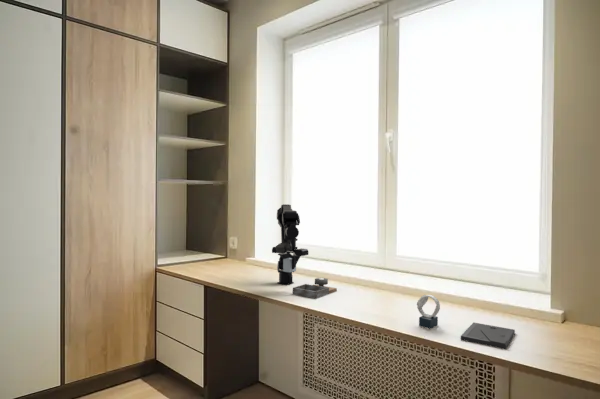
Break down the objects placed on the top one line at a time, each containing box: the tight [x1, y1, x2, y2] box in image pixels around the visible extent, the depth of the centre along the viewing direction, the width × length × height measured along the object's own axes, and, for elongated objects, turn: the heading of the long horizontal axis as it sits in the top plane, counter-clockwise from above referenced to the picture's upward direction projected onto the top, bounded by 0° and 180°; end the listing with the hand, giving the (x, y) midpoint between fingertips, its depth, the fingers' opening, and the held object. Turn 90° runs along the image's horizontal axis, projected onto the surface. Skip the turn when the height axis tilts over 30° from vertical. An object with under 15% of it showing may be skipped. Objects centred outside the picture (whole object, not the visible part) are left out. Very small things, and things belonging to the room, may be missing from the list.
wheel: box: [314, 277, 329, 286], centre depth 198 cm, size 6×6×2 cm
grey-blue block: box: [283, 258, 297, 273], centre depth 196 cm, size 4×5×6 cm
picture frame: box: [460, 322, 516, 350], centre depth 135 cm, size 13×2×18 cm
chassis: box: [292, 283, 338, 299], centre depth 194 cm, size 14×18×3 cm
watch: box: [416, 294, 441, 329], centre depth 146 cm, size 6×8×11 cm
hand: (289, 268), depth 196 cm, fingers closed on grey-blue block, 4 cm apart
